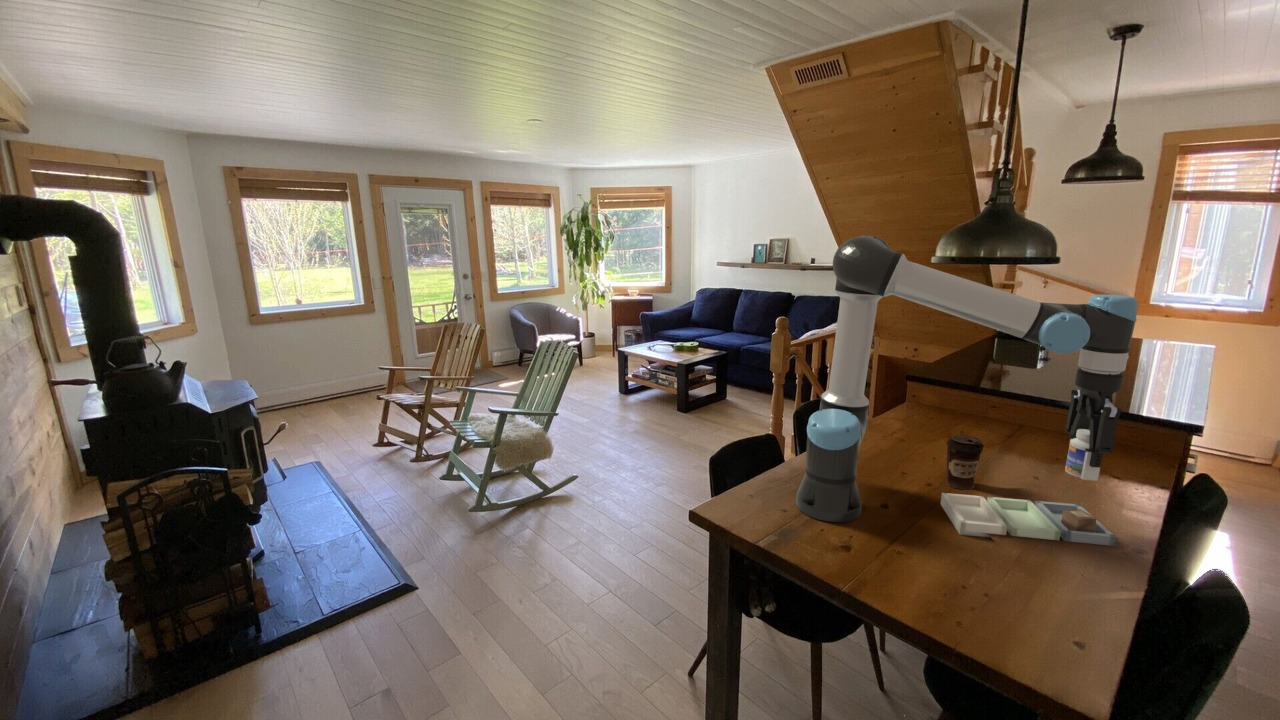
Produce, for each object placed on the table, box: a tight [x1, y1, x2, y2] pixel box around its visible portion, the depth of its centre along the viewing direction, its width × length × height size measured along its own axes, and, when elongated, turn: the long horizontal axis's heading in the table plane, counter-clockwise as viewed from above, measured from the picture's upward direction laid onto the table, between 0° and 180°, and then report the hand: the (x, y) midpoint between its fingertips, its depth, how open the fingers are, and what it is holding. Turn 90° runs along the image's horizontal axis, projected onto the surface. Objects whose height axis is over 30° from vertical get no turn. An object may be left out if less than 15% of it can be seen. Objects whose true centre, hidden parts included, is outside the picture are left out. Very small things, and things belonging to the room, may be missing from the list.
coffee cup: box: [945, 434, 985, 490], centre depth 139 cm, size 9×8×13 cm
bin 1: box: [940, 492, 1008, 538], centre depth 123 cm, size 9×14×3 cm, turn 166°
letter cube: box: [1061, 509, 1098, 533], centre depth 116 cm, size 4×4×4 cm
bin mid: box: [986, 496, 1061, 541], centre depth 120 cm, size 9×14×3 cm, turn 166°
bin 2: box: [1034, 500, 1117, 547], centre depth 118 cm, size 9×14×3 cm, turn 166°
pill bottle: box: [1064, 429, 1090, 479], centre depth 114 cm, size 5×5×10 cm
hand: (1081, 473), depth 115 cm, fingers closed on pill bottle, 5 cm apart
